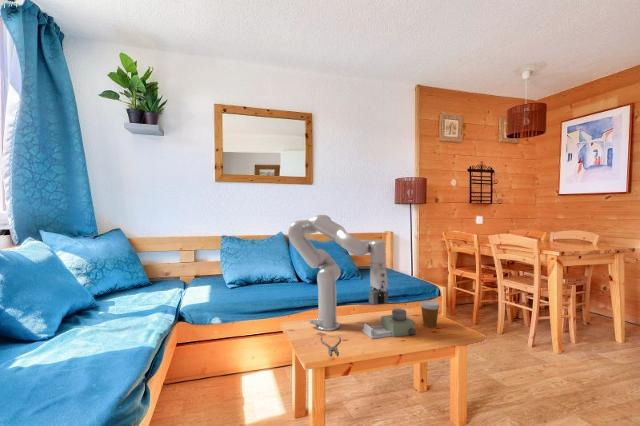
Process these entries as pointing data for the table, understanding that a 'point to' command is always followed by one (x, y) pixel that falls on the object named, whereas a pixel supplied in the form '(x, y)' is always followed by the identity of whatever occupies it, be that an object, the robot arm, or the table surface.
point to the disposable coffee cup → (429, 313)
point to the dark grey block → (376, 297)
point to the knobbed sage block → (391, 326)
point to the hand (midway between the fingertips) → (378, 301)
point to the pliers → (332, 347)
